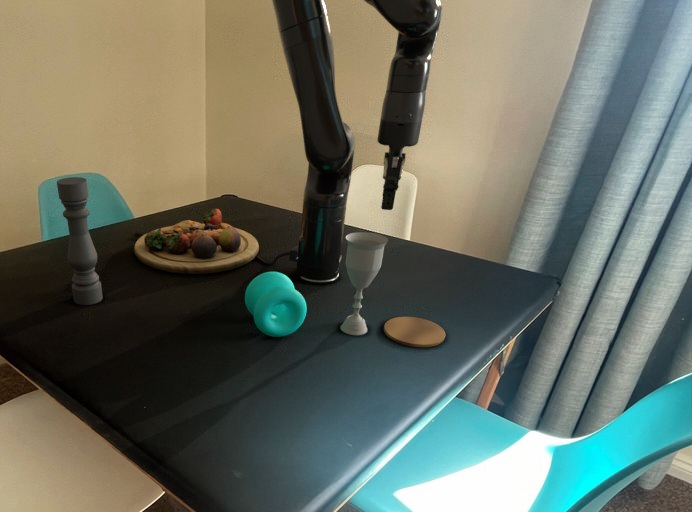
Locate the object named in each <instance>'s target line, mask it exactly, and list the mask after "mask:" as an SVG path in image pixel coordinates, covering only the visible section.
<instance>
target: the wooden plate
mask: <svg viewBox="0 0 692 512" xmlns="http://www.w3.org/2000/svg"><path fill="white" fill-rule="evenodd" d="M222 220H223V215H222V212H221V210H220V209H219V208H213V209H210V212H208V211H206V212H205V213H204V216H203V217H202V220H201V222H202V223H201V222H199V221H193V220H190V219H187V220H182V221H179V222H178V223H175V224H174V225H169V226H163V227H161V228H157V229H153V230H151V231H148V232H147V233H144V235H143V236H139V238H138V239H137V241H135V243H134V247H133V252H134V255H135V256H136V258H137V259H138V260H139V261H140V262H141V263H142V264H144V265H145V266H148V267H151V268H153V269H156V270H160V271H163V272H166V273H167V272H168V273H173V274H183V275H204V274H205V275H207V274H215V273H216V274H217V273H222V272H226V271H230V270H233V269H237V268H240V267H243V266H244V265H246V264H248V263H250V262H251V261H252V260H254V259H255V256H256V255H257V256H258V253H259V251H260V245H259V242H258V240H257V238H256V237H254V235H252V234H251V233H249V232H247V231H245V230H242V229H240V228H237V227H234V226H232V225H231V224H229V223H226V222H223V221H222Z"/></svg>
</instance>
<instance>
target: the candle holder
mask: <svg viewBox="0 0 692 512" xmlns="http://www.w3.org/2000/svg"><path fill="white" fill-rule="evenodd" d="M56 188H57V194H58V199H59V200H60V203H61V204H62V205H63V207H64V209H65V210H64V211H63V212H62V216H63V218H65V220H66V221H67V229H68V245H67V247H68V248H67V259H66V260H67V263H68V265H69V266H70V267H71V268H72V269H73V270H72V271H73V272H74V274H73V276H72V277H71V283H72V284H71V291H72V292H71V293H72V297H73V298H72V299H73V302H74V303H75V304H77V305H80V306H91V305H94V304H98V303H100V302H101V301H102V300H103V298H104V297H103V296H104V295H103V288H102V282H101V281H100V275H98V273H97V272H96V271H95V270H96V267H95V266H96V265H97V264H98V263H97V262H98V253H97V250H96V248H95V245H94V242H93V240H92V237H91V233H90V231H89V224H88V217H89V215H90V210H89V209H88V208H86V207H87V203H88V199H89V188H88V180H87V178H85V177H79V176H72V177H71V176H70V177H63V178H60V179H58V180H56Z"/></svg>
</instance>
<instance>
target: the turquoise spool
mask: <svg viewBox="0 0 692 512" xmlns="http://www.w3.org/2000/svg"><path fill="white" fill-rule="evenodd" d="M294 285H295V284H294V283H293V282H292V280H291V278H289V277H288V276H287V275H286V274H284V273H282V272H278V271H267V272H262V273H261V274H259V275H257V276H256V277H254V278H253V279H252V280H251V281H250V282H249V284H248V285H247V287H246V290H245V293H244V303H245V307H246V309H247V310H248V312H249V313H250V314H251V315H252V316H253V321H254V325H255V326H256V328H257V330H259V331H260V332H261V333H262V334H264V335H266V336H268V337H271V338H272V337H273V338H281V337H287V336H289V335H291V334H292V333H294V332H296V331H297V330H298V329H299V328H300V327H301V326H302V324H303V323H304V322H305V319H306V316H307V312H308V311H307V310H308V309H307V308H308V307H307V302H306V300H305V297H304V296H303V295H302V294H301V292H299V290H297V289H295V286H294Z"/></svg>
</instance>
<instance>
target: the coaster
mask: <svg viewBox="0 0 692 512" xmlns="http://www.w3.org/2000/svg"><path fill="white" fill-rule="evenodd" d="M383 331H384V334H385V335H386V336H387V337H388V338H389V339H391V340H392V341H394V342H396V343H398V344H401V345H403V346H409V347H413V348H431V347H436V346H439V345H440V344H442V343H443V342H444V340H445V338H446V332H445V330H444V328H443V327H441V326H440V325H439V324H437V323H436V322H433V321H431V320H430V319H429V320H428V319H425V318H422V317H416V316H398V317H393V318H390V319H388V320H387V321H386V322H385V323H384V325H383Z"/></svg>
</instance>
